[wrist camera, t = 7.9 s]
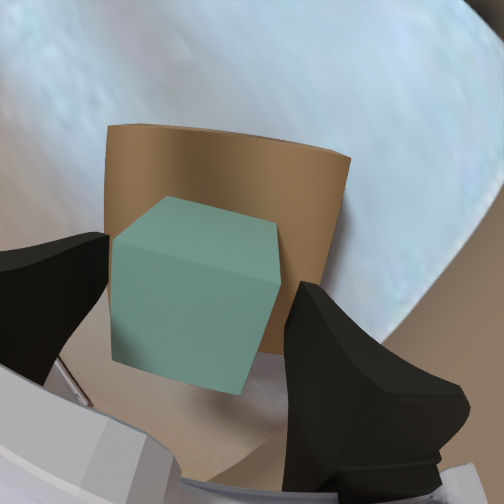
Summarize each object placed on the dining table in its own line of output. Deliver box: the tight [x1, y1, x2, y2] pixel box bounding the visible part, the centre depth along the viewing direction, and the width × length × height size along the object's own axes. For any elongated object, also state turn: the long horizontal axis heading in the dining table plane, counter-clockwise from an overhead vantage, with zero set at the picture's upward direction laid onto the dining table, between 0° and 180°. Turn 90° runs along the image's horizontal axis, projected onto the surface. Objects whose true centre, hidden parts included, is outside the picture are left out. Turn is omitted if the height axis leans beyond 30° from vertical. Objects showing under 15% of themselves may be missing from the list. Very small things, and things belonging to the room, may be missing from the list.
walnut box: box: [104, 124, 351, 355], centre depth 15 cm, size 10×10×4 cm
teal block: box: [111, 196, 281, 396], centre depth 11 cm, size 5×5×5 cm
